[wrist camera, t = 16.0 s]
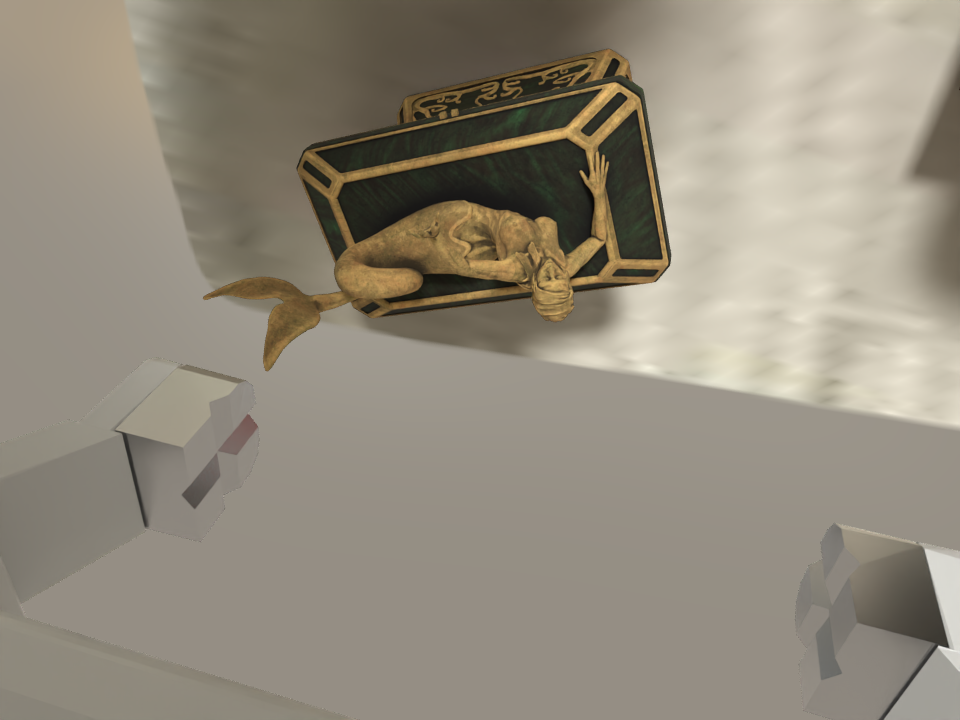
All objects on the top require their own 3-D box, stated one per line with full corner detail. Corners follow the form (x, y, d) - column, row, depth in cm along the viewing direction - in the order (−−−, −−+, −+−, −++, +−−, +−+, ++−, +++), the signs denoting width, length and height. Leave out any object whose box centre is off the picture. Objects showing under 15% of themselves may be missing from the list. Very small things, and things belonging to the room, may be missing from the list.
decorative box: (655, 17, 39) (607, 152, 24) (683, 195, 44) (658, 405, 28) (316, 101, 47) (109, 246, 31) (371, 246, 51) (216, 436, 36)
